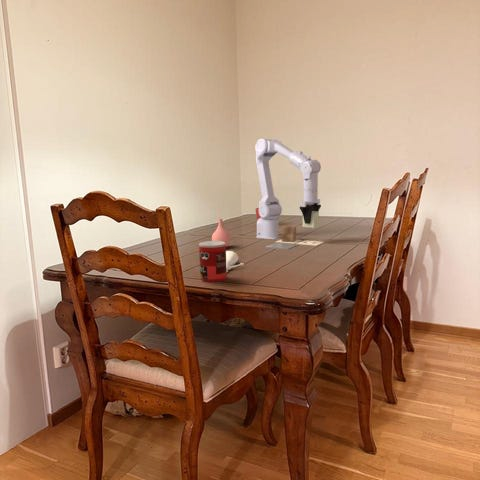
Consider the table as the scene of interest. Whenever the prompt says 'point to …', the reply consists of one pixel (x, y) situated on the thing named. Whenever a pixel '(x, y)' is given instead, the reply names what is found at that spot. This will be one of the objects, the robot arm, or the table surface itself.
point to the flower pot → (257, 213)
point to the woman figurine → (231, 260)
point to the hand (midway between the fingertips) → (310, 222)
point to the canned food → (212, 261)
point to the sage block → (312, 220)
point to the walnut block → (288, 234)
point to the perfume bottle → (221, 234)
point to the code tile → (310, 242)
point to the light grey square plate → (282, 246)
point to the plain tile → (289, 242)
